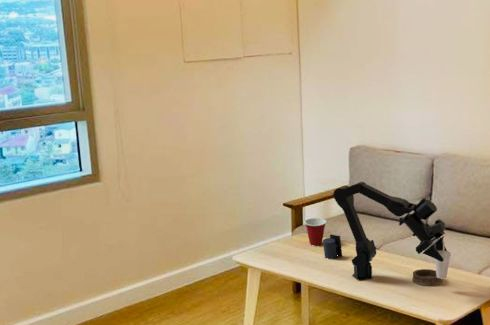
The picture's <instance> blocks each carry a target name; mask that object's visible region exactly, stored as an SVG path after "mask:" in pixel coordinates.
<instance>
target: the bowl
mask: <svg viewBox="0 0 490 325" xmlns="http://www.w3.org/2000/svg"><path fill="white" fill-rule="evenodd" d="M412 282H413V283H414V284H416V285H420V286H423V287H425V286H426V287H434V286H440V285H441V284H442V283H443V279H440V278H437V276H436V269H435V270H434V269H428V268H426V269H425V268H422V269H416V270H414V271H412Z"/></svg>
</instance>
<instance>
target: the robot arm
mask: <svg viewBox="0 0 490 325" xmlns="http://www.w3.org/2000/svg"><path fill="white" fill-rule="evenodd" d="M356 194H360V195H363V196H364V197H367V198H368V199H371V200H372V201H374V202H376V203H377V204H380V205H383V206H384V207H385V209H387V210H388V212H390V213H391V214H393V216H396V217H397V218H398V217H399V219H398V220H399V223H398V225H399V226H402V225H404V224H405V225H406V226H407V227H408V229H409V230H410V231H411V232H412V233H413V234H412V236H413V237H415V236H416V238H417V239H418V241H420V242H419V244H418V245H417V246H416V247H415V251H416V253H417V254H418V255H420V254H422V255H426V256H428V257H430V258H432V259H434V260H435V259H437V260H439V261H441V262H442V261H444V259H443V258H442V256H441V255H440V253H439V252H438V251H439V250H442V251H443V242H444V238H445V236H444V235H445V234H446V232H445V231H446V229H447V228H446V226H445V225H446V222H444V221H443V220H442V219H439V218H438V219H436V220H435V222H434V223H433V224H431V225H430V224H429V223H427V222H426V223H425V222H424V220H425V221H427V220H428V219H429V218H430V217H431V216H433V214H434V213H436V212H437V211H438V208H437V206H436V205H435V204H434V202H432V201H431V200H429V199H427V198H426V197H423V198H422V199H420V201H419V202H418V203H416V204H415V203H412V202H410V201H408V200H407V199H405V198H401V197H399V196H392V195H389V194H387V193H385V192H383V191H381V190H379V189H377V188H375V187H373V186H371V185H369V184H367V183H366V182H365V181H359V182H357V183H354V184H352V185H342V186H340V187H338V188H336V189H334V191H333V193H332V196H333V199H334V200H335V202H336V203H337V205H338V206H339V207H340V208H341V210H342V211H343V213H344V216H345V219H346V221H347V223H348V226H349V228H350V230H351V233H352V236H353V238H354V241H355V252H356V256H354V257H353V258H352V259H351V263H352V266H353V273H352V277H354V278H355V279H356V280H358V281H364V280H372V279H373V278H374V277H373V266H372V263H371V261H373V259H374V258H375V257H376V255H377V247H376V245H375V242H374V240H373V239H371V240H370V239H369V238H368V237H367V236H366V233H365V229H364V228H363V225H362V223H361V220H360V217H359V215H358V213H357V210H356V207H355V201H354V200H355V198H354V195H356ZM404 215H405V216H404ZM403 216H404V217H403ZM444 251H448V250H447V248H446V246H445V248H444Z"/></svg>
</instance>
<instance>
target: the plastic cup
mask: <svg viewBox="0 0 490 325" xmlns="http://www.w3.org/2000/svg"><path fill="white" fill-rule="evenodd" d="M304 224H305V227H306V231H307V237H308V242H309V244H311V245H310V246H312V245H319V246H321V245H322V244H323V240H324V234H325V228H326V224H327V220H326V219H324V218H322V217H321V218H320V217H311V218H307V219H305V220H304ZM320 244H321V245H320Z"/></svg>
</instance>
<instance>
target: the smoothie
mask: <svg viewBox="0 0 490 325" xmlns="http://www.w3.org/2000/svg"><path fill="white" fill-rule="evenodd" d="M445 245H446V244H445V241H443V251H442V250H439V251H438V252H439V253H440V255H441V256H442V258H443V259H444V261H442V262H441V261H439V260H437V259H435V258H434V265H435V267H434V268H435V271H436V276H437V278H440V279H442V280H443V279H446V278H447V277H448V270H449V264H450V258H451V256H452V255H451V252H450V251H448V250H447V251H444V248H445V247H446V246H445Z"/></svg>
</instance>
